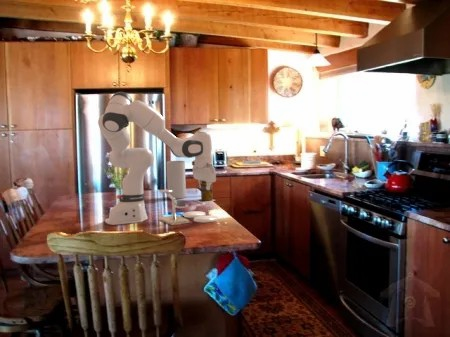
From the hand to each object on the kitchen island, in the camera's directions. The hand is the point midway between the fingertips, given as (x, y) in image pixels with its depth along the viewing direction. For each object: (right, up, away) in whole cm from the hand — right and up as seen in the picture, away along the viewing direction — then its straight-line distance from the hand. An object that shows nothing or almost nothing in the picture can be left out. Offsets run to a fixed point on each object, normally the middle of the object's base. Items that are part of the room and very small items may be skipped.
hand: (204, 189), depth 243 cm
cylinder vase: (-23, -10, +77) cm, 80 cm away
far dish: (-7, -15, +15) cm, 22 cm away
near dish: (0, -16, +2) cm, 17 cm away
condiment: (0, -6, +1) cm, 6 cm away
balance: (-16, -17, +1) cm, 23 cm away
